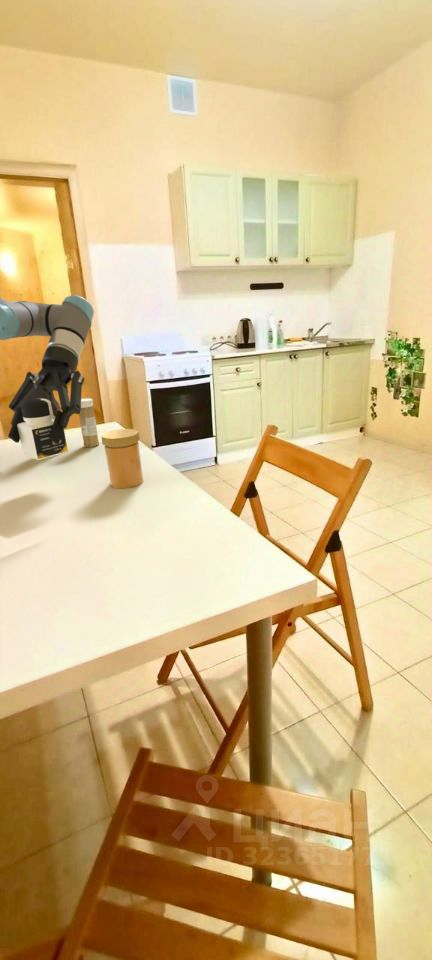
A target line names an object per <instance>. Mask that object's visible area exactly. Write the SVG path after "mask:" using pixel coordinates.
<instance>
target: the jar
mask: <svg viewBox="0 0 432 960" xmlns="http://www.w3.org/2000/svg"><path fill="white" fill-rule="evenodd" d="M104 452H105V458H106V464H107V471H108V477H109V482H110V486H111V487H112V488H115V489H130V488H135V487H137V486H139V485H141V484H142V483H144V476H143V468H142V459H141V452H140V446H139V441H138V442H136V443H134V444H131V445H127V446H120V447H108V446H104Z"/></svg>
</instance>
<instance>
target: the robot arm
mask: <svg viewBox="0 0 432 960" xmlns="http://www.w3.org/2000/svg"><path fill="white" fill-rule="evenodd" d="M94 314H95V310H94V308H93V306H92V304H91V302H89V301H88V300H87V299H86V298H84V297H82V296H80V295H76V294H71V295H69V296H66V297H64V300H63V301H62V303H61V304H58V303H57V304H56V303H55V304H53V303H42V302H34V301H26V300H13V301H8V300H6V299H4V298H2V297H0V341H6V340H10V339H17V338H26V337H35V336H38V337H50V338H49V340H48V343H47V346H46V348H45V351H44V354H43V357H42V359H41V369H40V370H39V371H38V373H32V372H31V371H28V372H26V374H25V378H24V380H23V382H22V384H21V385H20V387H19V389H17V391H16V393H15V394H14V396H13V398H12V400H11V401H10V403H9V404H8V408H9V410H11V411H12V412H13V416H12V418H11V421H10V424H11V428H10V429H9V432H8V435H7V437H8V438H9V439H10V440H12V441H13V442H14V443H17V444H19V443H20V436H19V432H18V427H17V424H19V423H23V422H26V421H24V418H23V414H22V409H21V404H22V403H23V402H24V401H27V400H31V399H40V398H41V397H42V396H43V395H46V394H47V393H48V392H49V391H53V392H54V391H55V392H57V394H58V399H59V405H60V411H57V414H56V417H55V420H54V423H53V426H52V429H51V432H50V435H49V438H50V439H51V440H52V441H53V442H54V443H56V444H59V441H60V438H61V435H62V432H63V429H64V430H65V429H67V427H68V424H69V421H70V418H71V417H72V416H73V415H74V414H76V415H79V413H80V412H81V399H82V393H83V391H82V390H83V389H82V388H83V385H84V383H85V382H84V381H85V377H84V376H83V375H82V373H81V372H80V371H79V370H77V368H78V365H79V361H80V359H81V356H82V353H83V351H84V350H83V349H84V348H85V347H84V346H85V343H86V340H87V337H88V335H89V333H90V329H91V327H92V323H93V318H94ZM69 383H70V395H69V388H68V384H69ZM40 385H42V387H43V388H44V389H42V388H41V386H40Z"/></svg>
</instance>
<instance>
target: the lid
mask: <svg viewBox="0 0 432 960" xmlns="http://www.w3.org/2000/svg"><path fill="white" fill-rule="evenodd" d="M139 441H140V434H139V430H137V429H135V428H133V429H132V428H119V429H114V430H111V431H106V432H104V433H102V434H101V443H102V444H101V445H103V446H104V447H105V446H108V447H120V446H127V445H131V444H134V443H136V442H138V443H139Z"/></svg>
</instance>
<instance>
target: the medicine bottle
mask: <svg viewBox="0 0 432 960" xmlns="http://www.w3.org/2000/svg"><path fill="white" fill-rule="evenodd" d="M21 409H22V414H23V418H24V421H26V422H23V423H19V424H17V427H18V432H19V436H20V440H19V442H20V445H21V449H22V455H23V456H26V457H29V458H32V459H34V460H37V461H41V460H45V459H49V458H52V457H56V456H58V455H62V454H66V453H68V451H69V450H68V445H67V439H66V433H65V428H64V429H63V432H62V435H61V438H60V441H59V444H56V443H54V442H53V441H52V440H51V439H50V438H49V435H50V432H51V429H52V426H53V423H54V420H55V419H52V418H53V412H52V407H51V402H50V401H49V400H47V399H31V400H27V401H24V402H23V403H22V404H21Z"/></svg>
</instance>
